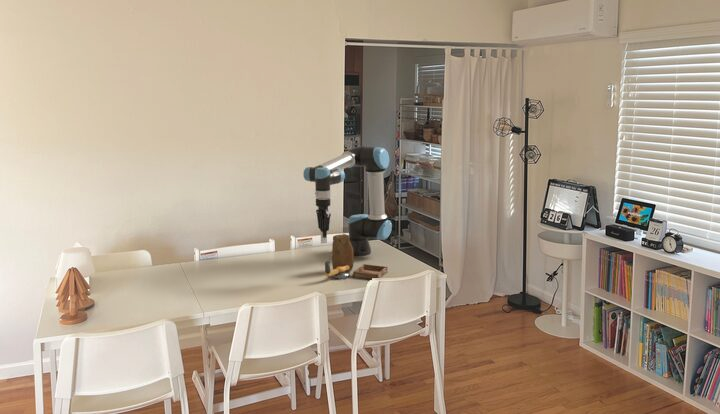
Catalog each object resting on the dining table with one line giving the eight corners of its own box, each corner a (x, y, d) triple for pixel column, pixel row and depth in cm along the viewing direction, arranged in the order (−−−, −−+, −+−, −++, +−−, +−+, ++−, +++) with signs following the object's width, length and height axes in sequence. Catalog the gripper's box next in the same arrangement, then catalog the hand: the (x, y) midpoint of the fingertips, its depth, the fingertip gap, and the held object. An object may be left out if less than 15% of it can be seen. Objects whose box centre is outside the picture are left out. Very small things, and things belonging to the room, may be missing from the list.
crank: (344, 267, 333) (344, 254, 331) (351, 269, 330) (351, 255, 328) (322, 275, 320) (322, 261, 318) (329, 277, 317) (329, 262, 315)
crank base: (335, 272, 334) (335, 267, 333) (353, 275, 330) (353, 269, 330) (328, 278, 325) (328, 273, 324) (345, 280, 321) (345, 275, 320)
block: (336, 273, 332) (336, 237, 328) (331, 270, 339) (330, 234, 335) (354, 271, 336) (354, 235, 332) (349, 267, 343) (349, 232, 339)
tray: (364, 269, 340) (364, 264, 339) (387, 272, 335) (387, 266, 334) (353, 277, 326) (353, 271, 326) (377, 280, 321) (377, 274, 321)
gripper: (310, 196, 319) (312, 241, 324) (321, 201, 308) (322, 247, 313) (324, 195, 322) (325, 239, 327) (335, 199, 311) (336, 245, 316)
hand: (323, 243), depth 320 cm, fingers closed
